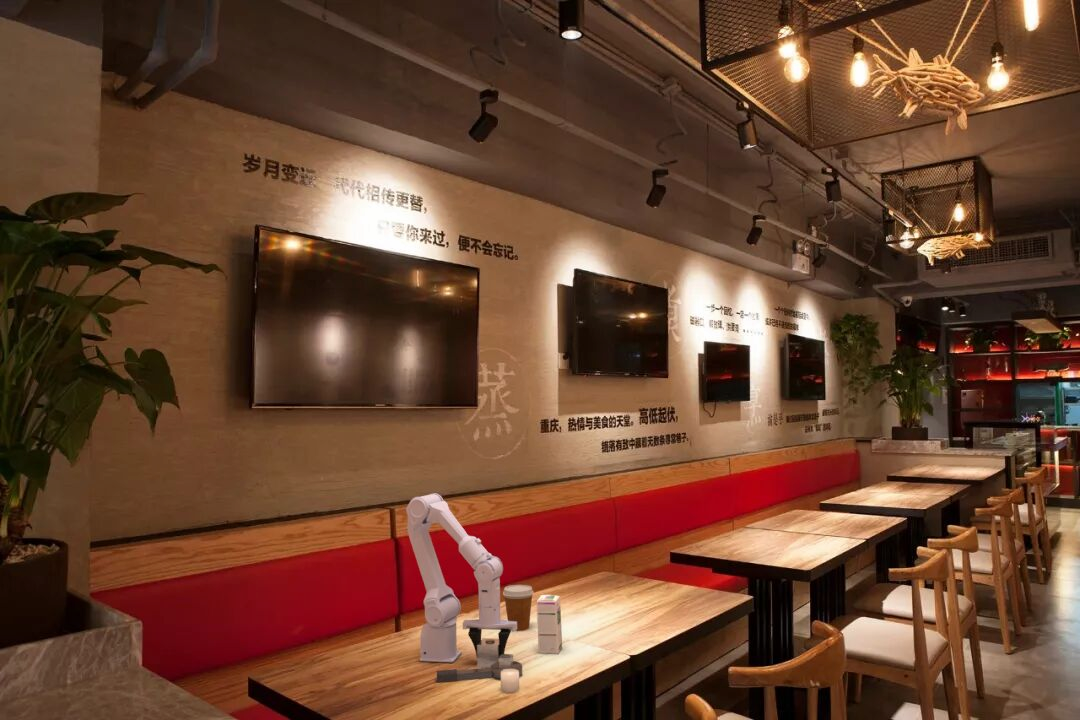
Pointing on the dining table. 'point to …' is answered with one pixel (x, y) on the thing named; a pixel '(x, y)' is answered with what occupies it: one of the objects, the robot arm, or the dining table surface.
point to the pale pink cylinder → (509, 680)
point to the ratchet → (481, 671)
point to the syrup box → (549, 624)
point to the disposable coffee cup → (518, 605)
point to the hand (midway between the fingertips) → (490, 657)
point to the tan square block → (487, 652)
